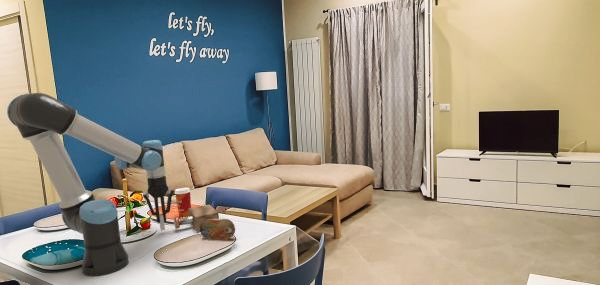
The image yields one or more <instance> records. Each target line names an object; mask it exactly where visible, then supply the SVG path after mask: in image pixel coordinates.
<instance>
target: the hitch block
mask: <svg viewBox="0 0 600 285" xmlns="http://www.w3.org/2000/svg"><path fill="white" fill-rule="evenodd" d="M188 210H189V217H190V216H193V221H194V223H190V225H191V226H192V228H193V230H195V231H196V233H201V232H200V225H201V223H202V222H203V221H205V220H207V219H220V214H219V211H217V210H216V209H215V208H214V207H213V206H212V205H211V204H204V205H199V206H193V207H191V208H188Z"/></svg>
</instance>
